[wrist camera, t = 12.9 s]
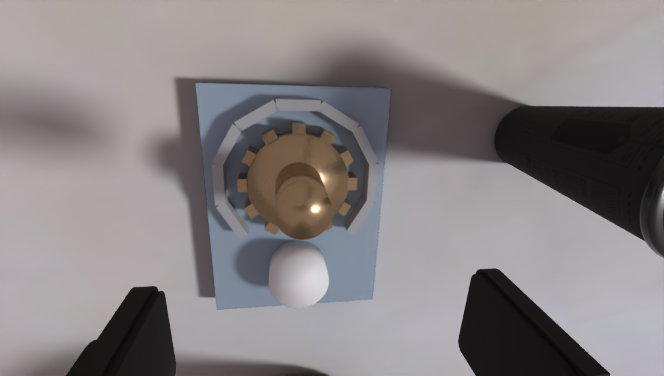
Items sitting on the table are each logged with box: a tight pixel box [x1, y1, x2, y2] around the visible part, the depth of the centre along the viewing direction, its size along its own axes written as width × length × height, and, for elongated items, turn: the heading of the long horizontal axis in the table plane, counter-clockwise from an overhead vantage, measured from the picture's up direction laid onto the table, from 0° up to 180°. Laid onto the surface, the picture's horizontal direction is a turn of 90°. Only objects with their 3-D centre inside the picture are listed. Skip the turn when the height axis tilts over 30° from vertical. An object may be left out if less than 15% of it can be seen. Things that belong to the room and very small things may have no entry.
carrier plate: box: [196, 82, 391, 310], centre depth 25 cm, size 18×13×4 cm
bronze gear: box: [237, 122, 357, 240], centre depth 21 cm, size 8×8×6 cm
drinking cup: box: [495, 106, 664, 258], centre depth 18 cm, size 8×8×20 cm
